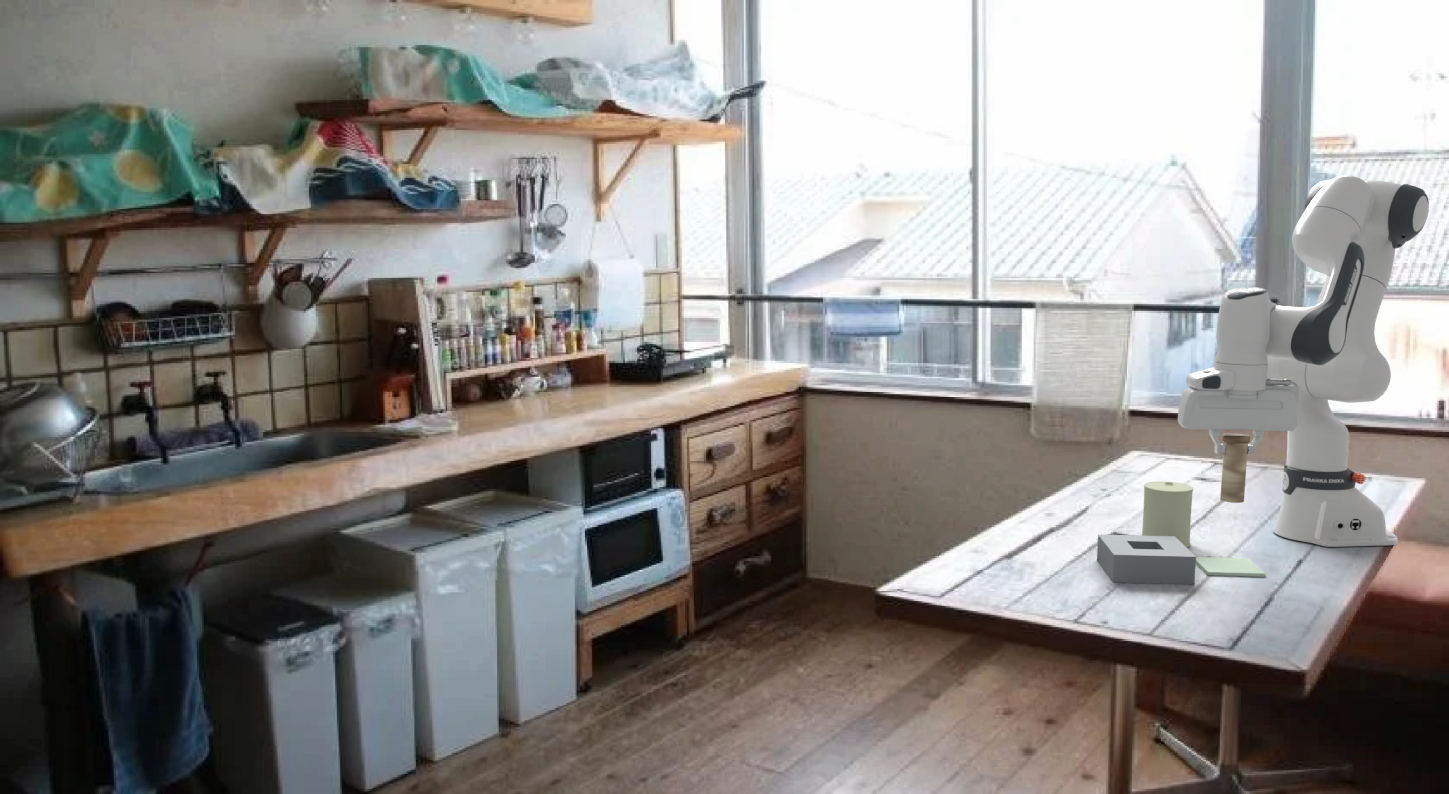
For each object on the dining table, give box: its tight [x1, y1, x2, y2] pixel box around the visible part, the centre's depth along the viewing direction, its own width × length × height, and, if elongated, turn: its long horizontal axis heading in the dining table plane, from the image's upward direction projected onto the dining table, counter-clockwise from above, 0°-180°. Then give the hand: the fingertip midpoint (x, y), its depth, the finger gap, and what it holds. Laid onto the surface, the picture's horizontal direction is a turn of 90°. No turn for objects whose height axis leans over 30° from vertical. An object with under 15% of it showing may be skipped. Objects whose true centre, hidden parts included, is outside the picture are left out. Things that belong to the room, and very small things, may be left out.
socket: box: [1096, 534, 1197, 585], centre depth 222 cm, size 14×14×5 cm
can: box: [1141, 481, 1194, 549], centre depth 241 cm, size 9×9×12 cm
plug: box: [1219, 432, 1251, 504], centre depth 222 cm, size 5×5×12 cm
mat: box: [1196, 556, 1267, 578], centre depth 224 cm, size 10×10×1 cm
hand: (1235, 454), depth 221 cm, fingers closed on plug, 4 cm apart
